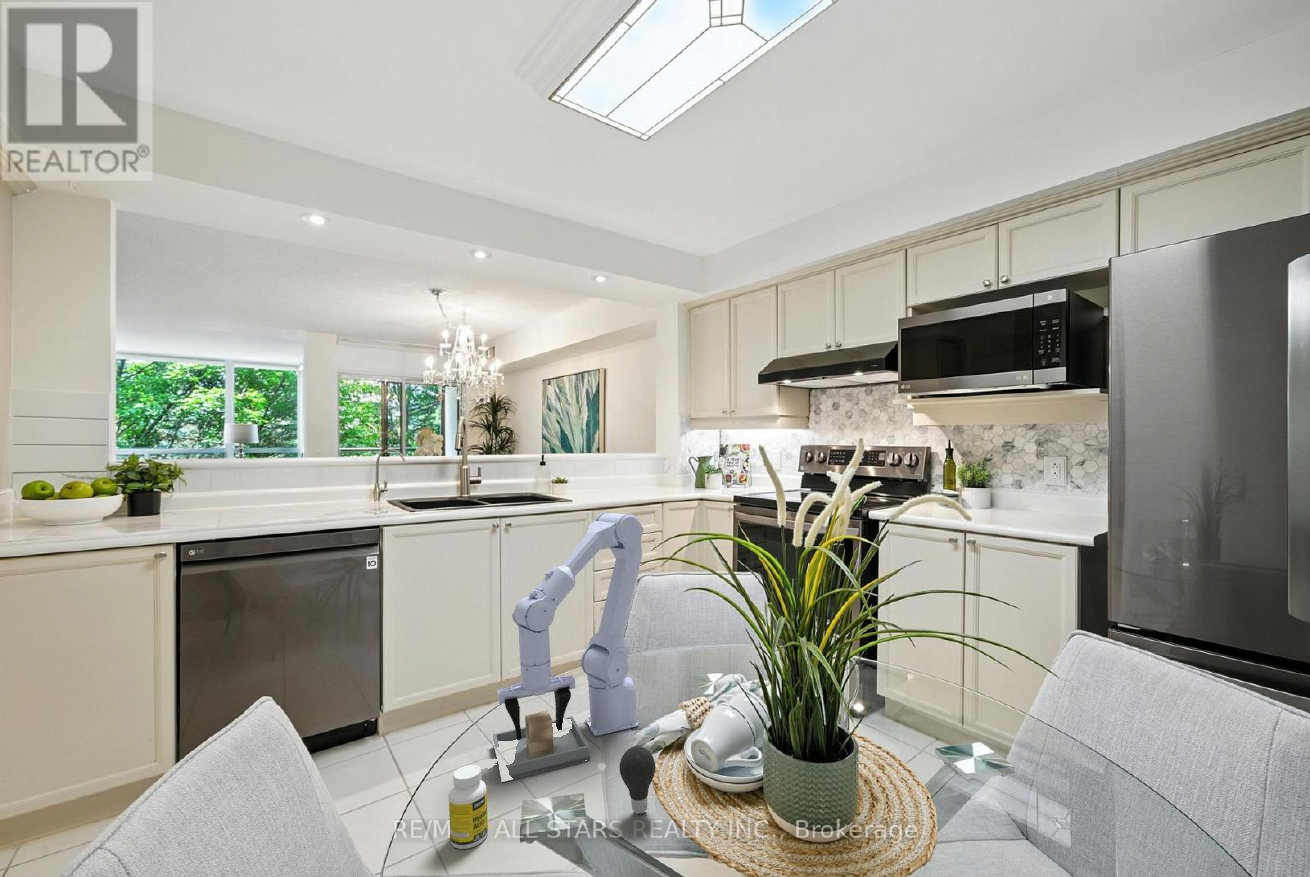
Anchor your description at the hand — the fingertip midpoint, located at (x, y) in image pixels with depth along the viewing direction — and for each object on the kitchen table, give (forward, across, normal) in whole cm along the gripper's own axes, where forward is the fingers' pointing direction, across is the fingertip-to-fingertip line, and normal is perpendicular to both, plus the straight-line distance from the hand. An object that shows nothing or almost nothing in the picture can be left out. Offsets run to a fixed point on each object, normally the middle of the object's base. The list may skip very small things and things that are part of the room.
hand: (539, 732), depth 109 cm
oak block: (+3, 0, 0) cm, 3 cm away
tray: (+4, 0, 0) cm, 4 cm away
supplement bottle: (+4, -14, -20) cm, 25 cm away
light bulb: (+4, +11, -26) cm, 29 cm away
